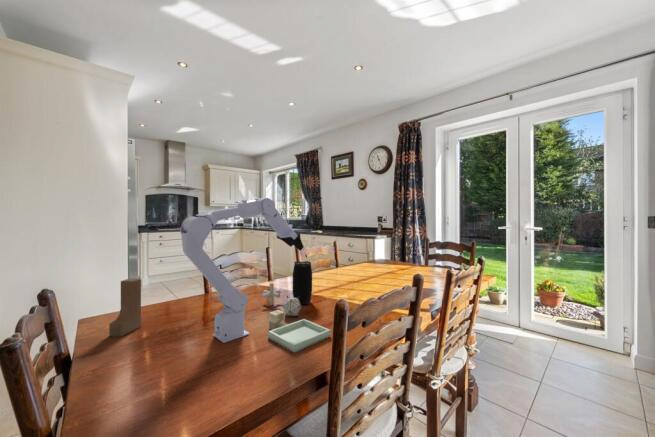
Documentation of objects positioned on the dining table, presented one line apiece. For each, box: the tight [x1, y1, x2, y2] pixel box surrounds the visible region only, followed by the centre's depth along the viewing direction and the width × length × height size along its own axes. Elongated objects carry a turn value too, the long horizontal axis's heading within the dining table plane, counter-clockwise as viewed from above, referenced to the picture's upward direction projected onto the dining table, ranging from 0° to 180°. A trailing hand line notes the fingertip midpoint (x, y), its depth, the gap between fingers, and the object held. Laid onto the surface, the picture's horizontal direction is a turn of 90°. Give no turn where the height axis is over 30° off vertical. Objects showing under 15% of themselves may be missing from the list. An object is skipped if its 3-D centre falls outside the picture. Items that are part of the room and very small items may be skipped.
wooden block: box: [108, 277, 142, 338], centre depth 99 cm, size 9×4×18 cm, turn 173°
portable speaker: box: [292, 260, 313, 305], centre depth 133 cm, size 9×9×20 cm
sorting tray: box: [267, 318, 332, 354], centre depth 95 cm, size 16×14×2 cm
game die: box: [280, 295, 304, 318], centre depth 116 cm, size 9×8×10 cm
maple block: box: [268, 309, 286, 331], centre depth 103 cm, size 4×4×6 cm
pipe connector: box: [261, 282, 282, 306], centre depth 130 cm, size 10×10×10 cm
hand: (296, 246), depth 115 cm, fingers open, 7 cm apart
